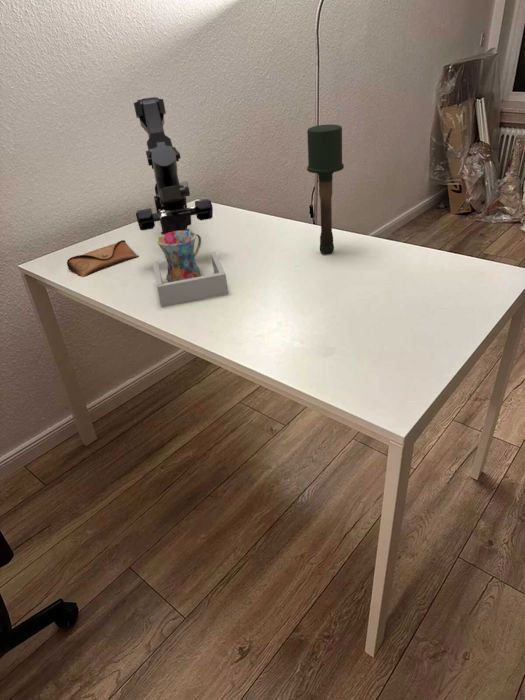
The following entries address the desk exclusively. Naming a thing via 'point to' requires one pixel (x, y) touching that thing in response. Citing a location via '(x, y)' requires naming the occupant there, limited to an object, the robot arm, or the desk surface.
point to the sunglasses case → (100, 259)
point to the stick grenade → (325, 173)
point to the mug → (180, 254)
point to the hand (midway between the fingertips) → (182, 245)
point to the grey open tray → (192, 286)
